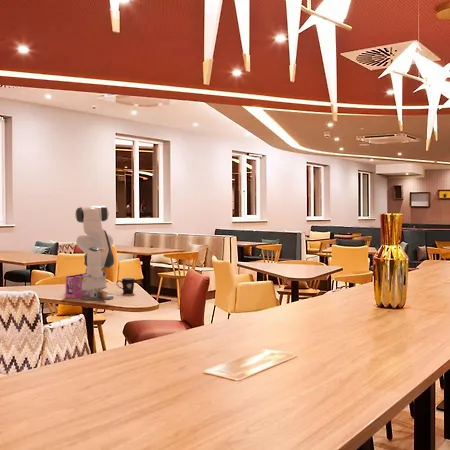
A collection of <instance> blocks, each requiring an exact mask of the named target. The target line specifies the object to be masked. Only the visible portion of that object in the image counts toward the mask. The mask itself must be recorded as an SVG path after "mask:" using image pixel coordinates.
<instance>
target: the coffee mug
mask: <svg viewBox="0 0 450 450" xmlns="http://www.w3.org/2000/svg"><path fill="white" fill-rule="evenodd" d="M118 282H121V284H122V286H119V283H118ZM116 286H117V287H118V288H119V289H121V290H122V291H123V292H122V293H123V294H124V295H131V294H134V288H135V277H122V278H121V280H117V281H116Z"/></svg>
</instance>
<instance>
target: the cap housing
mask: <svg viewBox="0 0 450 450" xmlns="http://www.w3.org/2000/svg"><path fill="white" fill-rule="evenodd" d="M102 289H103V288H99V289H98V291H102ZM98 291H97V292H98ZM80 298H81V300H83V301H90V302H92V301H93V302H99V301H100V302H101V301H109V300H113V299H114V295H111V294H107V296H106V299H101V298H95V297H89V296H88V295H85V296H82V297H80Z"/></svg>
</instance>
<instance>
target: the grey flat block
mask: <svg viewBox="0 0 450 450" xmlns="http://www.w3.org/2000/svg"><path fill="white" fill-rule="evenodd" d="M107 295H108V291H107V289H103V288H102V291H98V292H97V296H94V297H95V298H101V299H106V296H107ZM88 296H89V297H92V296H91V292H90V290H89V292H88Z"/></svg>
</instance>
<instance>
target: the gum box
mask: <svg viewBox="0 0 450 450" xmlns="http://www.w3.org/2000/svg"><path fill="white" fill-rule="evenodd" d="M86 275H87V273H86V272H85V273H80V274H74V275H67V276H65V292H64V293H65V295H64V296H65V298H69V299H78V298H81V297H82V296H85V295H88V292H89V291H83V290H82V282H83V278H84V277H85V276H86Z"/></svg>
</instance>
